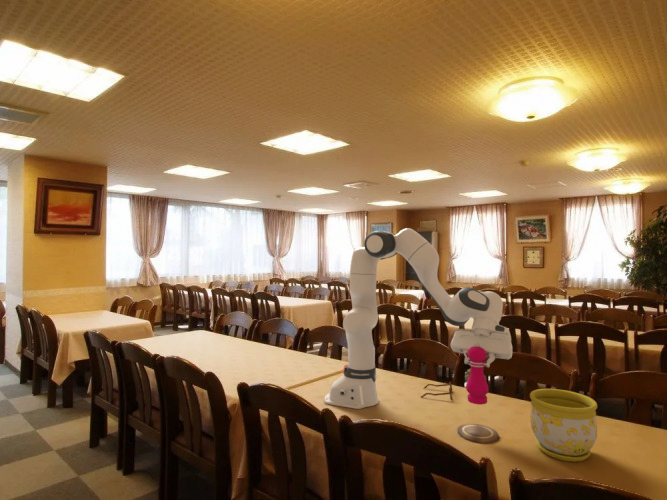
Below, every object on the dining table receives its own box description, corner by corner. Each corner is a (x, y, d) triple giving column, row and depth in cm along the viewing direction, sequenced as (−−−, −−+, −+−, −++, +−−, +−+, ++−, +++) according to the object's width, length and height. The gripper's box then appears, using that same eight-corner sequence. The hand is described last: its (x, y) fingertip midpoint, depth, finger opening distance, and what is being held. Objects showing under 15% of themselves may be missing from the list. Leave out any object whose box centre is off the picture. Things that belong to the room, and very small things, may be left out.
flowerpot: (518, 439, 131) (518, 389, 131) (570, 437, 133) (570, 387, 133) (553, 468, 113) (553, 409, 114) (613, 465, 115) (612, 407, 115)
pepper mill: (490, 405, 131) (490, 344, 132) (468, 404, 133) (467, 344, 133) (486, 398, 138) (485, 340, 139) (464, 396, 140) (464, 339, 140)
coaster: (458, 440, 130) (458, 437, 130) (456, 424, 143) (456, 421, 143) (501, 444, 127) (501, 441, 127) (494, 427, 140) (494, 425, 140)
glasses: (452, 402, 167) (451, 389, 167) (420, 398, 171) (420, 386, 171) (452, 392, 179) (452, 380, 179) (422, 389, 183) (422, 378, 183)
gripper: (453, 323, 148) (444, 355, 139) (513, 328, 136) (506, 364, 127) (457, 333, 151) (448, 365, 143) (516, 340, 139) (509, 375, 131)
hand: (476, 364), depth 135 cm, fingers closed on pepper mill, 5 cm apart
